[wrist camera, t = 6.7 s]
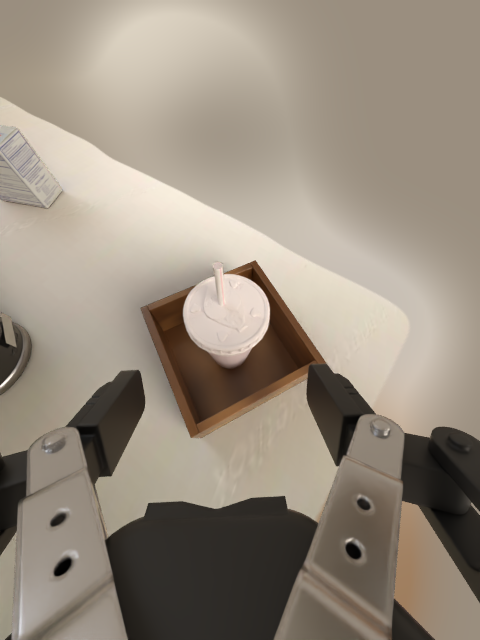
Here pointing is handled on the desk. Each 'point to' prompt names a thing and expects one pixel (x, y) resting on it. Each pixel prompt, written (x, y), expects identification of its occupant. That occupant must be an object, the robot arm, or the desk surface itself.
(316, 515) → the desk surface
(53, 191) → the medicine box
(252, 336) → the smoothie
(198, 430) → the wooden box
